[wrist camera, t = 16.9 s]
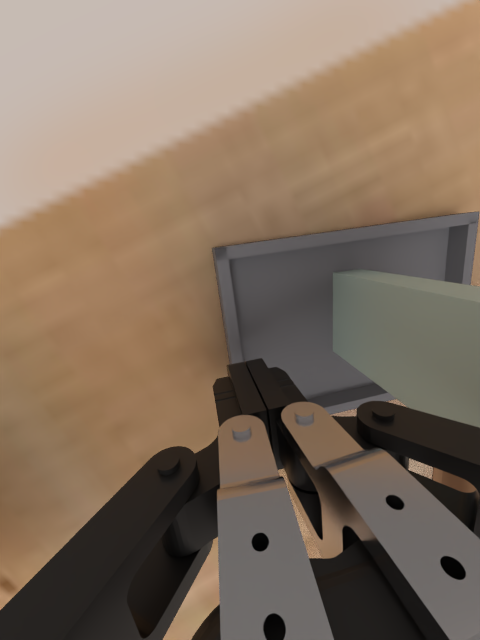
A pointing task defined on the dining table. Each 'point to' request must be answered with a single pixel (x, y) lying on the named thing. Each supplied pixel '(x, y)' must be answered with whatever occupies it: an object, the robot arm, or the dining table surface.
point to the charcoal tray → (327, 295)
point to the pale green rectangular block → (412, 339)
